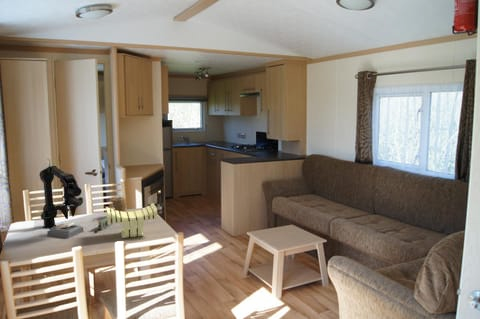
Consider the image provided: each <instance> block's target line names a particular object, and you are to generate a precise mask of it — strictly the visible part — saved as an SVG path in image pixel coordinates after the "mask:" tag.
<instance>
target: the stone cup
mask: <svg viewBox="0 0 480 319" xmlns="http://www.w3.org/2000/svg"><path fill="white" fill-rule="evenodd" d="M111 201H112V205H113V208H114V211H116V210H117V211H119V214H120V211H122V212H126V213H127V216H128V212H129V211H127V202H126V197H124V196H121V197H116V198H113V199H112V200H111ZM120 218H121V215H120ZM128 218H129V216H128Z"/></svg>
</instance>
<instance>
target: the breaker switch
mask: <svg viewBox="0 0 480 319" xmlns="http://www.w3.org/2000/svg"><path fill="white" fill-rule="evenodd" d="M62 224H63V225H60V224H59V225H60V226H58V227H56V229H60V228H64V227H69V226H71V225H76V223H75V222H74V221H73V222H69V223H62Z"/></svg>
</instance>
